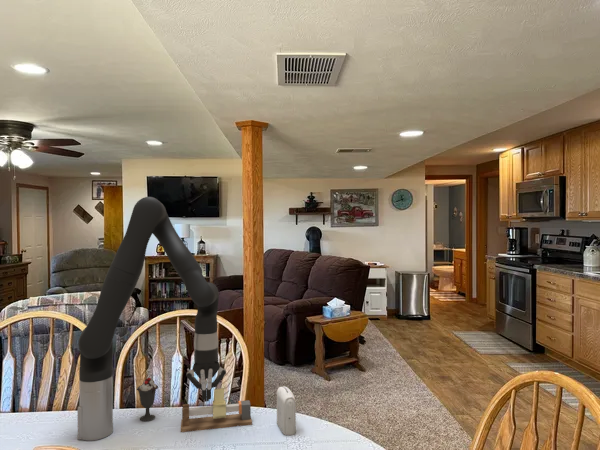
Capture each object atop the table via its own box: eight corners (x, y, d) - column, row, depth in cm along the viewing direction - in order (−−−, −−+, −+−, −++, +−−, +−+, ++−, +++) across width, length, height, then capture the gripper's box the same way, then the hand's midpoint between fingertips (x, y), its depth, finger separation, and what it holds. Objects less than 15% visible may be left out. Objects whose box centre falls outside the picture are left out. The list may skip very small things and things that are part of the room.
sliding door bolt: (184, 426, 138) (183, 410, 138) (184, 421, 142) (184, 405, 142) (250, 419, 143) (250, 403, 143) (249, 414, 146) (249, 399, 146)
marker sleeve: (213, 418, 140) (212, 391, 140) (212, 413, 144) (212, 387, 144) (226, 417, 141) (225, 390, 141) (225, 412, 145) (225, 386, 145)
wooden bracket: (180, 432, 136) (180, 411, 136) (181, 422, 143) (181, 402, 143) (252, 424, 141) (252, 404, 141) (249, 415, 148) (249, 396, 148)
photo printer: (297, 434, 134) (297, 393, 134) (283, 436, 133) (283, 395, 133) (288, 420, 144) (287, 382, 144) (275, 422, 143) (275, 383, 143)
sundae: (144, 424, 142) (144, 377, 142) (132, 419, 146) (132, 373, 146) (162, 417, 147) (162, 372, 147) (150, 412, 151) (150, 368, 151)
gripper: (184, 350, 136) (184, 407, 136) (227, 347, 139) (228, 403, 139) (185, 344, 144) (185, 398, 144) (226, 341, 147) (226, 394, 147)
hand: (206, 400), depth 141 cm, fingers closed
